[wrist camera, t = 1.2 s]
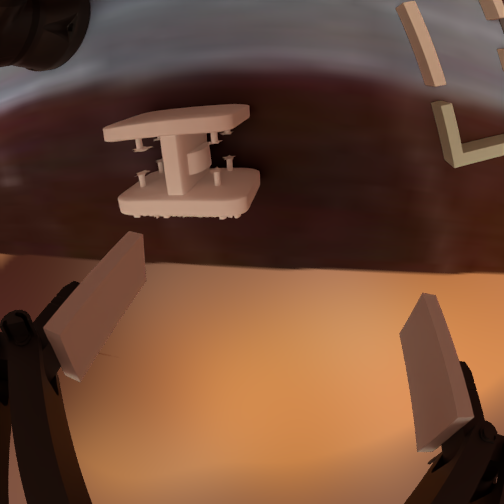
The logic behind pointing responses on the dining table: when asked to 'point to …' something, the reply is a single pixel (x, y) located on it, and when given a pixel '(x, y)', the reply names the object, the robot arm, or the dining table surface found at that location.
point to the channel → (423, 42)
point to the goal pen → (452, 145)
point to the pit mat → (502, 23)
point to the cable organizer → (186, 164)
